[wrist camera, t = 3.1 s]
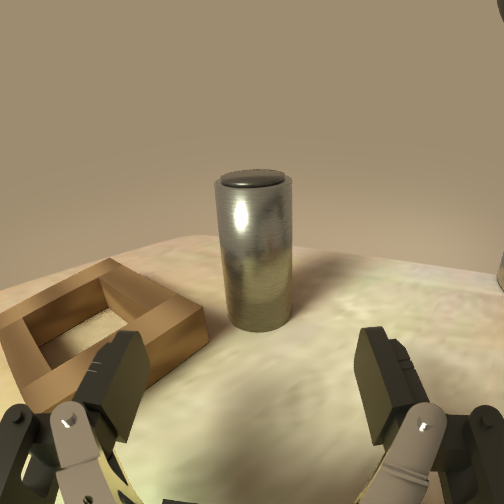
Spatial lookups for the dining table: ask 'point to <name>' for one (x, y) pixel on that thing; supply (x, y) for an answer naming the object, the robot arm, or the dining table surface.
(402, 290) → the dining table surface
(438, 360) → the dining table surface
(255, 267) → the metal tea canister
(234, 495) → the dining table surface
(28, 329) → the frame
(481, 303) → the dining table surface
